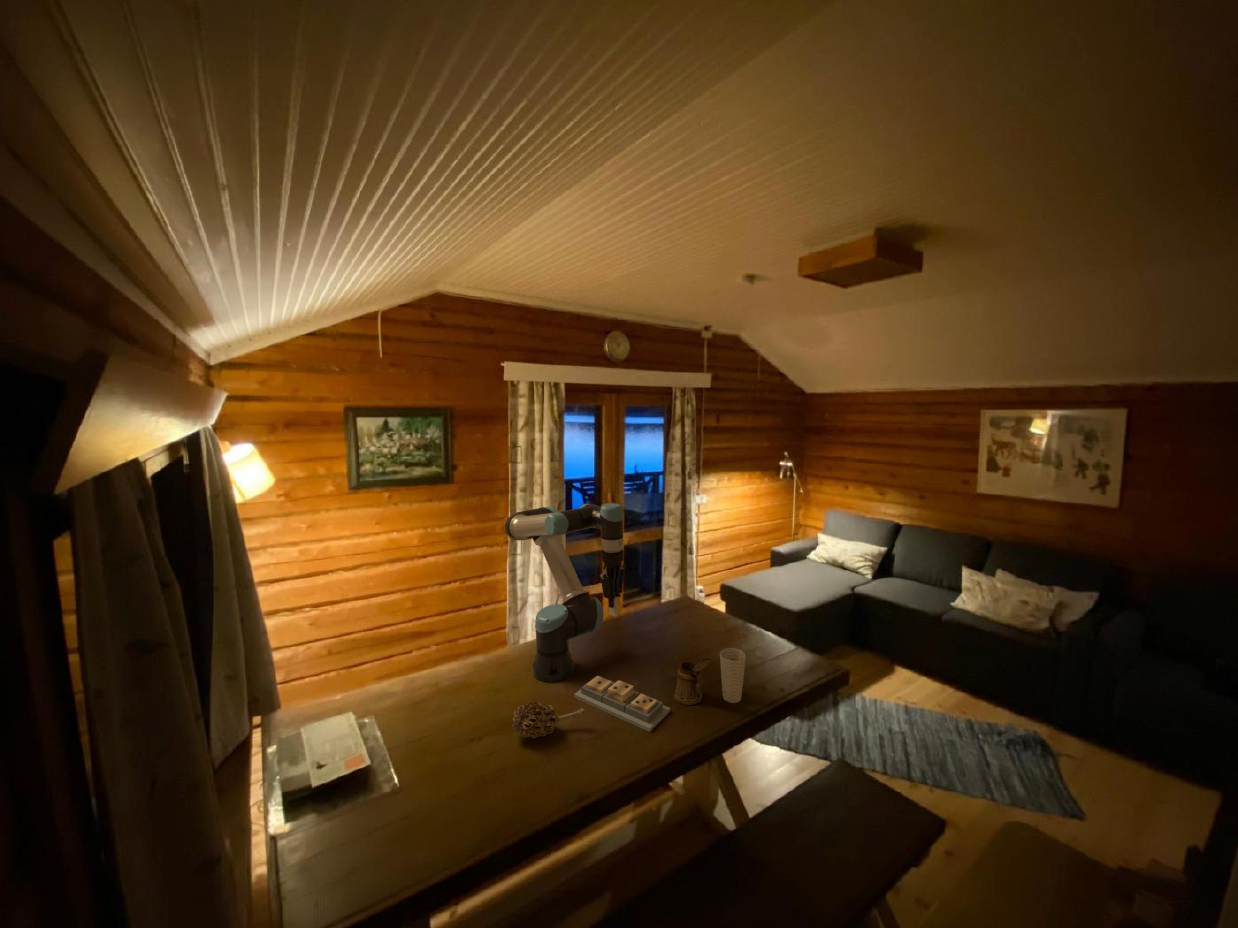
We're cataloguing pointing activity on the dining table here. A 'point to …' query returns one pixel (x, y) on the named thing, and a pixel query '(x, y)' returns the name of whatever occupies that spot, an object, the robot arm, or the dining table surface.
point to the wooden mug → (689, 682)
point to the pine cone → (538, 719)
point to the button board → (623, 708)
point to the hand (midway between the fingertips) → (613, 614)
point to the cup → (732, 673)
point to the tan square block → (599, 684)
